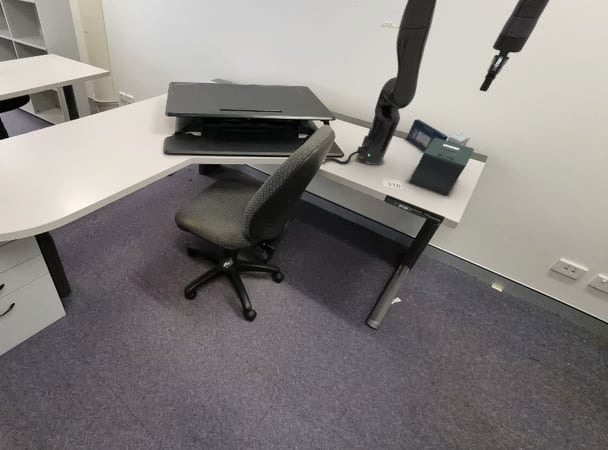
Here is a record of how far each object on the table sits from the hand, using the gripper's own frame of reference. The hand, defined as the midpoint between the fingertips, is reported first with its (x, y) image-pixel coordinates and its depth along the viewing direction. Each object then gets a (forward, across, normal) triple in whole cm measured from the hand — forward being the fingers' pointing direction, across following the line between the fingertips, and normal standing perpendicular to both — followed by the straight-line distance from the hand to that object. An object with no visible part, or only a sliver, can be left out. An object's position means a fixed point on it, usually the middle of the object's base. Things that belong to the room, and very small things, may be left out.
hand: (482, 90), depth 112 cm
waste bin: (+34, +6, 0) cm, 34 cm away
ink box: (+34, -15, +1) cm, 37 cm away
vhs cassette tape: (+34, -20, -11) cm, 41 cm away
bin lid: (+21, +7, 0) cm, 22 cm away
